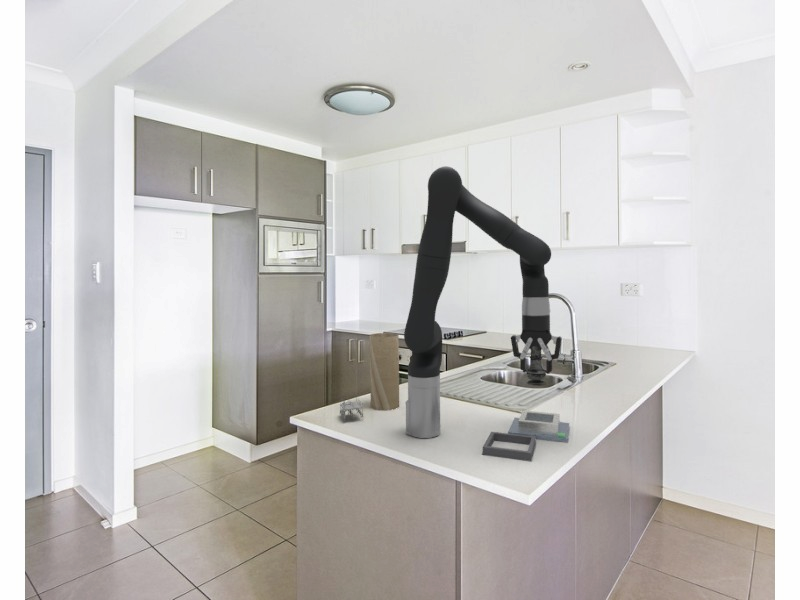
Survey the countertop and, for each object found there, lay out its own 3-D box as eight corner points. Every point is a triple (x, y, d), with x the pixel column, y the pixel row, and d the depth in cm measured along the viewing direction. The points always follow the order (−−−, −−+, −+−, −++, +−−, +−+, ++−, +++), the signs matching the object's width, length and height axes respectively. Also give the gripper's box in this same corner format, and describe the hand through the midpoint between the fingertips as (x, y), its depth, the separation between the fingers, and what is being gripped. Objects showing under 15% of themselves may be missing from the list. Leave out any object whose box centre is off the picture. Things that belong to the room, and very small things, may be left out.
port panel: (507, 435, 133) (508, 421, 133) (514, 420, 146) (514, 407, 146) (567, 442, 127) (567, 428, 127) (569, 426, 140) (569, 413, 140)
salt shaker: (543, 380, 135) (543, 339, 134) (550, 385, 129) (549, 342, 128) (523, 381, 135) (522, 340, 134) (528, 386, 129) (528, 343, 128)
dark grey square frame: (482, 454, 119) (482, 446, 119) (491, 438, 131) (491, 431, 130) (531, 461, 115) (531, 453, 115) (535, 443, 126) (535, 436, 126)
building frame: (344, 423, 145) (343, 404, 145) (338, 416, 153) (338, 398, 152) (363, 421, 147) (363, 402, 147) (357, 414, 155) (356, 396, 154)
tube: (381, 412, 156) (380, 337, 154) (365, 405, 164) (364, 334, 163) (405, 406, 162) (404, 335, 160) (388, 400, 170) (387, 332, 168)
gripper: (507, 314, 130) (508, 373, 131) (561, 314, 124) (562, 377, 125) (512, 311, 137) (512, 368, 138) (563, 312, 131) (564, 371, 132)
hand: (536, 372), depth 132 cm, fingers closed on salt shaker, 6 cm apart
